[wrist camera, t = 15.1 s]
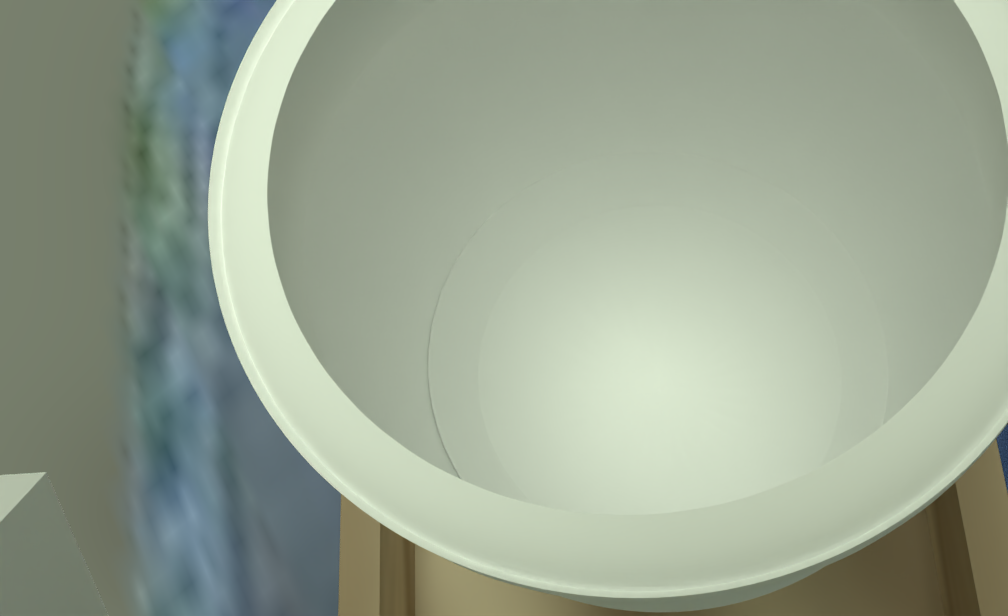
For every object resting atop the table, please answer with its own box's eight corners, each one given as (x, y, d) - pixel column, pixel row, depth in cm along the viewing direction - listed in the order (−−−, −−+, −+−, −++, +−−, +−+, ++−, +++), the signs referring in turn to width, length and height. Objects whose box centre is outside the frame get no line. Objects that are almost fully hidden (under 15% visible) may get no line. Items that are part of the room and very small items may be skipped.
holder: (885, 128, 28) (914, 49, 24) (998, 723, 22) (1059, 741, 19) (392, 187, 30) (349, 124, 26) (389, 734, 25) (335, 753, 21)
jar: (390, 432, 26) (47, 219, 12) (626, 162, 28) (553, -310, 14) (695, 709, 23) (695, 851, 9) (951, 384, 24) (1310, 52, 10)
